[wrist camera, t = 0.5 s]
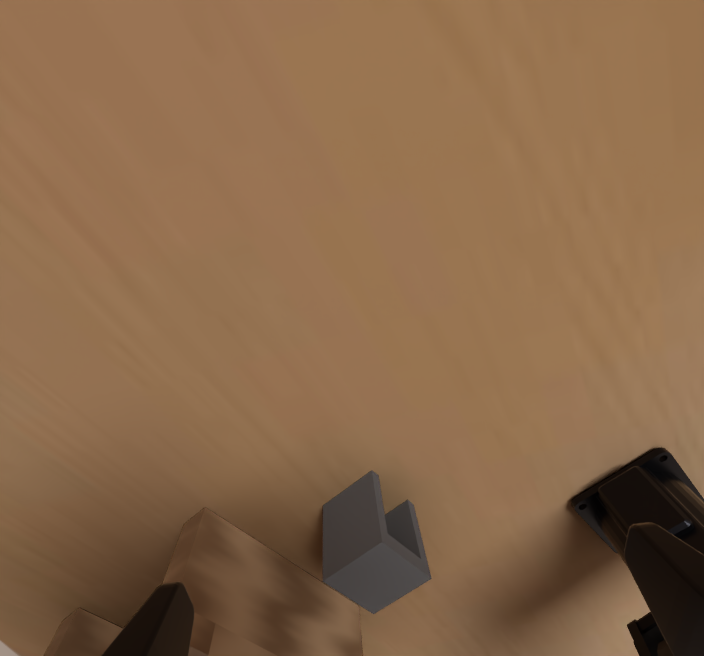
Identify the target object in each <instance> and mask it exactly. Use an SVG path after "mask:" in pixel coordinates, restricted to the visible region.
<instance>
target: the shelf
mask: <svg viewBox="0 0 704 656" xmlns="http://www.w3.org/2000/svg"><path fill="white" fill-rule="evenodd" d="M178 581H180V582H182V583H183V584H184V586H185V588H186V590H187V593H188V595H189V597H190V599H191V601H192V604H193V607H194V622H193V629H192V635H191V641H190V647H189V653H188V656H363V650H362V636H361V623H360V609H359V606H358V605H357V604H355V603H354V602H352V601H350V600H349V599H347V598H346V597H344V596H343V595H341V594H339V593H338V592H336V591H335V590H333V589H332V588H330V587H329V586H327V585H325V584H324V583H322V582H321V581H319V580H318V579H316V578H315V577H313V576H311V575H310V574H308V573H307V572H305V571H304V570H302V569H301V568H299V567H297V566H296V565H294V564H293V563H291V562H290V561H288V560H286V559H285V558H283V557H282V556H280V555H279V554H277V553H276V552H274V551H272V550H271V549H269V548H268V547H266V546H265V545H263V544H262V543H260V542H258V541H257V540H255V539H254V538H252V537H251V536H249V535H247V534H246V533H244V532H243V531H241V530H240V529H238V528H237V527H235V526H233V525H232V524H230V523H229V522H227V521H226V520H224V519H223V518H221V517H219V516H218V515H216V514H215V513H213V512H212V511H210V510H208V509H207V508H204V509H203V510H201V511H200V512H199V513H198V514H196V515H195V516H194V517H193V518H191V519H190V520H189V521H187V522H186V523H185V524H184V525H183V528H182V531H181V534H180V536H179V539H178V542H177V545H176V547H175V550H174V553H173V556H172V558H171V561H170V564H169V567H168V569H167V572H166V575H165V578H164V580H163V583H162V584H164V583H170V582H178ZM122 630H123V628H121V627H119V626H117V625H114V624H112V623H110V622H108V621H106V620H104V619H102V618H100V617H97V616H95V615H93V614H91V613H89V612H87V611H85V610H83V609H80V608H78V609H77V610H76V611H74V612H73V613H72V614H71V615H69V616H68V617H67V618H66V619H64V620H63V621H62V622H61V624H60V626H59V628H58V630H57V632H56V634H55V635H54V637H53V639H52V641H51V643H50V645H49V647H48V648H47V650H46V652H45V654H44V656H101V655H102V654H103V653H104V651H105V650H106V649H107V648H108V647H109V645H110V644H111V643H112V642H113V640H114V639H115V638H116V637H117V636H118V634H119V633H120V632H121V631H122Z"/></svg>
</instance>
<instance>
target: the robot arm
mask: <svg viewBox="0 0 704 656" xmlns="http://www.w3.org/2000/svg"><path fill="white" fill-rule="evenodd" d="M571 505H572V506H573V508H574V509H575V511H576V512H577V513H578V514H579V515H580V516H581V517H582V518H583V519H584V520H585V521H586V522H587V523H588V525H589V526H590V527H591V528H592V529H593V530H594V531H595V532H596V533H597V534H598V535H599V536H600V537H601V538H602V539H603V540H604V541H605V542H606V543H607V544H608V546H609V547H610V548H611V549H612V550H613V551H614V552H616V553H618V554H619V555H620V556H621V558H622V559H623V561H624V562H625V564H626V565H627V566H628V568H629V570H630V572H631V574H632V576H633V578H634V580H635V582H636V584H637V586H638V587H639V589H640V591H641V593H642V595H643V597H644V599H645V601H646V603H647V605H648V607H649V609H650V611H651V612H649V613H648V614H646V615H645V616H643V617H642V618H640V619H639V620H633V621H632V622H630V623H629V624H627V627H628V629H629V631H630V634H631V636H632V638H633V640H634V645H635V647H636V649H637V652H638V654H639V656H704V499H703V497H702V496H701V495H700V493H699V492H698V490H697V489H696V488H695V486H694V485H693V484H692V482H691V481H690V479H689V478H688V477H687V475H686V474H685V473H684V471H683V470H682V468H681V467H680V466H679V464H678V463H677V462H676V460H675V459H674V457H673V456H672V455H671V453H669V452H668V451H667V450H666V449H665V448H657V449H655V450H653V451H652V452H650V453H648V454H647V455H645V456H643V457H642V458H640V459H638V460H637V461H635V462H633V463H632V464H630V465H628V466H627V467H625V468H624V469H622V470H620V471H619V472H617V473H615V474H614V475H612V476H610V477H609V478H607V479H605V480H604V481H602V482H600V483H599V484H597V485H596V486H594V487H592V488H591V489H589V490H587V491H586V492H584V493H582V494H581V495H579V496H577V497H576V498H574V499H573V500H572V502H571ZM193 622H194V607H193V604H192V601H191V599H190V597H189V595H188V593H187V590H186V588H185V586H184V584H183V583H182V582H180V581H178V582H170V583H164V584H161V585H160V586H159V587H157V589H156V590H155V591H154V592H153V593H152V594H151V596H150V597H149V598H148V599H147V601H146V602H145V603H144V604H143V605H142V607H141V608H140V609H139V610H138V611H137V613H136V614H135V615H134V616H133V617H132V619H131V620H130V621H129V622H128V624H127V625H126V626H125V627H124V628H123V630H122V631H121V632H120V633H119V634H118V636H117V637H116V638H115V639H114V640H113V642H112V643H111V644H110V645H109V647H108V648H107V649H106V650H105V651H104V653H103V654H102V655H101V656H188V653H189V647H190V641H191V635H192V629H193Z"/></svg>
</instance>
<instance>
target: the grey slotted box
mask: <svg viewBox="0 0 704 656" xmlns="http://www.w3.org/2000/svg"><path fill="white" fill-rule="evenodd" d="M430 579H431V575H430V571H429V567H428V562H427V558H426V554H425V550H424V546H423V542H422V538H421V533H420V529H419V525H418V521H417V517H416V513H415V509H414V505H413V504H412V503H411V502H410V501H409V500H406V501H405V502H403V503H402V504H401V505H399V506H398V507H396V508H395V509H393V510H392V511H390V512H389V513H387V514H386V515H385V514H384V507H383V501H382V495H381V489H380V482H379V476H378V475H377V474H376V473H375V472H373V471H370V472H369V473H367V474H366V475H365V476H363V477H362V478H360V479H359V480H358V481H356V482H355V483H354V484H352V485H351V486H349V487H348V488H347V489H345V490H344V491H342V492H341V493H340V494H338V495H337V496H336V497H334V498H333V499H331V500H330V501H329V502H327V503H326V504H324V505H323V582H324V583H326V584H328V585H329V586H331V587H332V588H334V589H335V590H337V591H338V592H340V593H342V594H343V595H345V596H346V597H348V598H349V599H351V600H352V601H354V602H356V603H357V604H359V605H360V606H362V607H363V608H365V609H366V610H368V611H370V612H371V613H373V614H375V613H376V612H378V611H379V610H381V609H383V608H384V607H386V606H388V605H389V604H391V603H393V602H394V601H396V600H397V599H399V598H401V597H402V596H404V595H406V594H407V593H409V592H411V591H412V590H414V589H415V588H417V587H419V586H420V585H422V584H424V583H425V582H427V581H429V580H430Z"/></svg>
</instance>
